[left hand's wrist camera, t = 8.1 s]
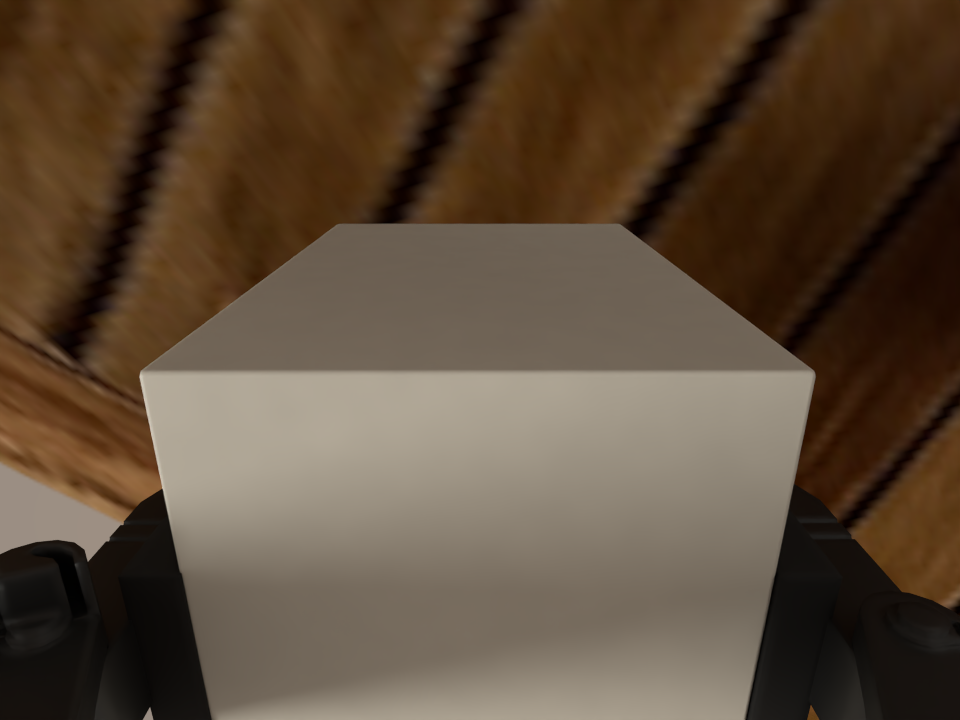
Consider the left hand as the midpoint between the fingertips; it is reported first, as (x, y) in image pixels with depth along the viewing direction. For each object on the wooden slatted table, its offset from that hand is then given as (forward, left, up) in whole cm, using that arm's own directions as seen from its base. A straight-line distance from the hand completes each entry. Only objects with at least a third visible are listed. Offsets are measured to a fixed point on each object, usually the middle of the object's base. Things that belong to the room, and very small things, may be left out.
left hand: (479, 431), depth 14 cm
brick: (0, 0, -4) cm, 4 cm away
